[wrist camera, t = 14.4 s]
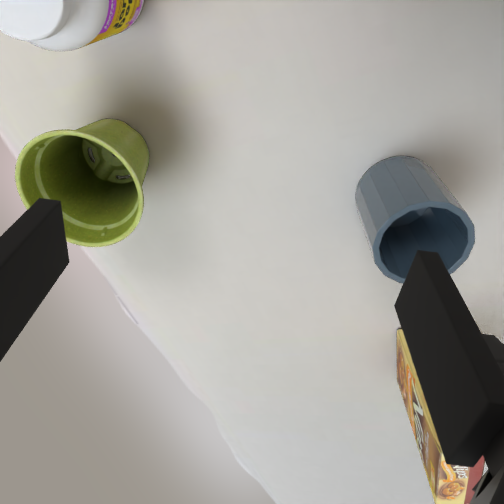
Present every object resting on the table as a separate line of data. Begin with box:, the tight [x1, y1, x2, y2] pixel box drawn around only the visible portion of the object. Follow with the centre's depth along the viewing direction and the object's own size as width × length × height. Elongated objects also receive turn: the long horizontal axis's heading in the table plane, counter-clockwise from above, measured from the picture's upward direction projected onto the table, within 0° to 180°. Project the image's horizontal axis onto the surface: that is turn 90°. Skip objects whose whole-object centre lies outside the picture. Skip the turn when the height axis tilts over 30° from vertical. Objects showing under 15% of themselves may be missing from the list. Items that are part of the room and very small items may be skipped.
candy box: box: [397, 329, 485, 504], centre depth 45 cm, size 9×4×15 cm, turn 11°
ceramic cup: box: [355, 156, 475, 283], centre depth 36 cm, size 7×7×9 cm
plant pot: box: [15, 119, 149, 247], centre depth 36 cm, size 9×9×9 cm
